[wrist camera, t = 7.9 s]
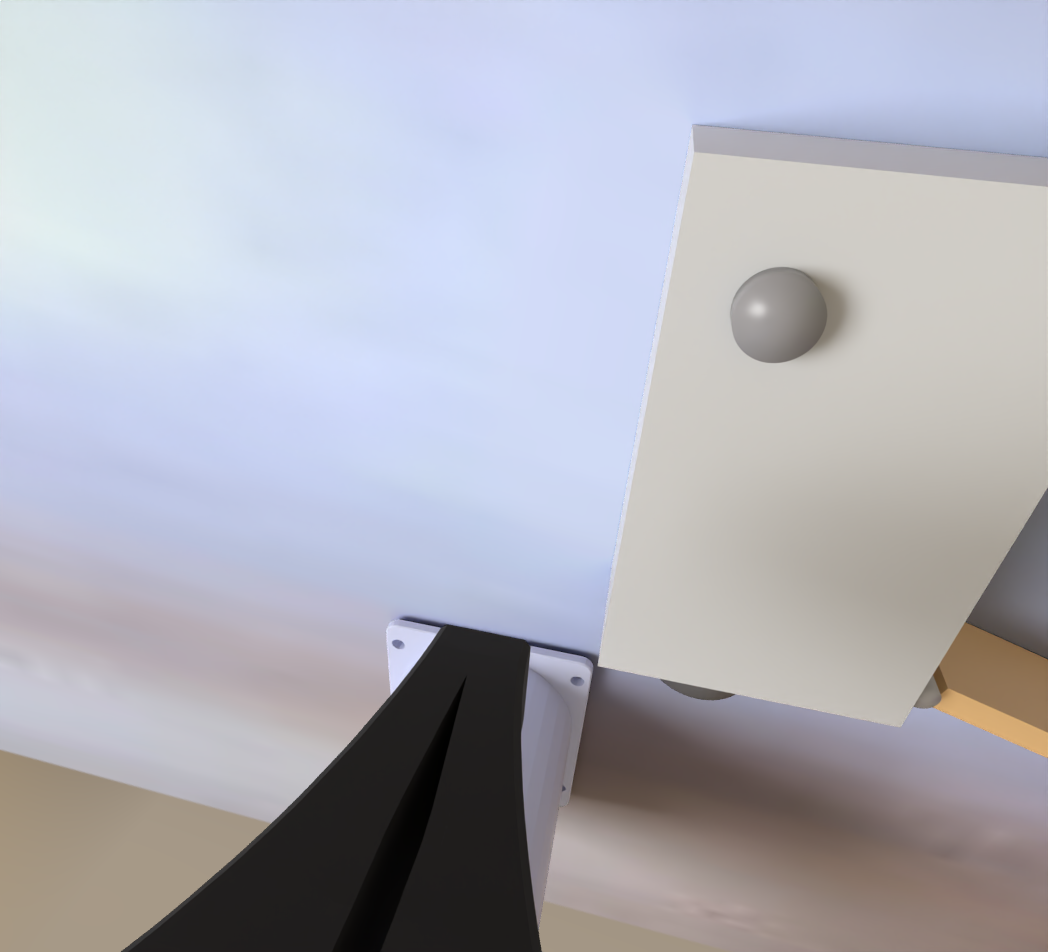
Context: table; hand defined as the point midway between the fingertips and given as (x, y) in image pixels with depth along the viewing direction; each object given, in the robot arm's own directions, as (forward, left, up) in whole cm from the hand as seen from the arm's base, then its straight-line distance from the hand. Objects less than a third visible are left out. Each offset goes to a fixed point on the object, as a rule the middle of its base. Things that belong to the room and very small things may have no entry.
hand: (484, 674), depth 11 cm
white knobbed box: (0, -6, -10) cm, 12 cm away
